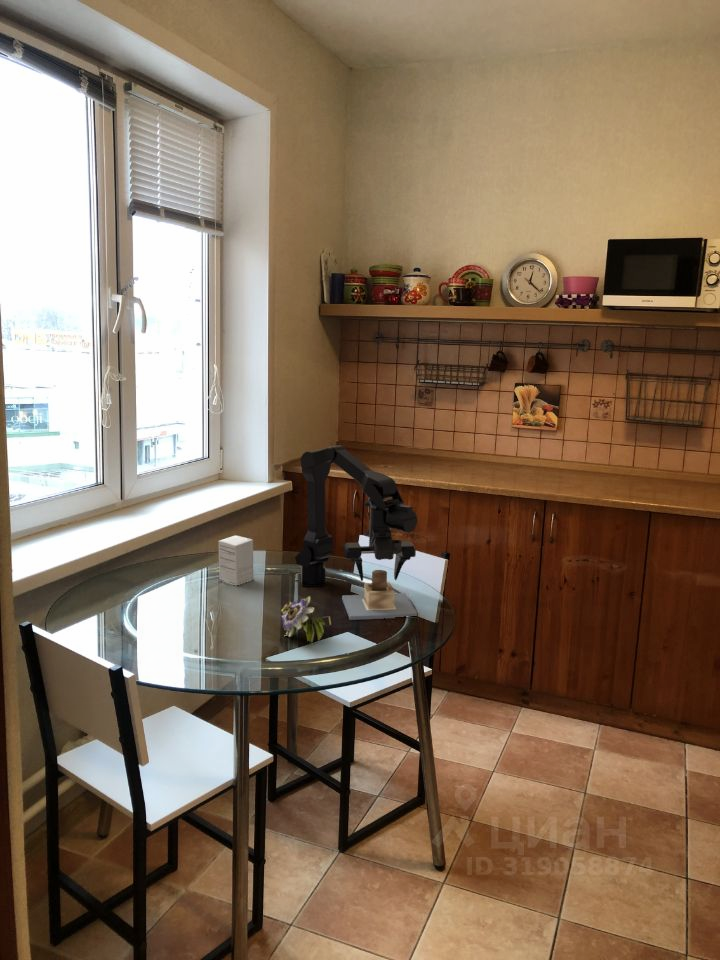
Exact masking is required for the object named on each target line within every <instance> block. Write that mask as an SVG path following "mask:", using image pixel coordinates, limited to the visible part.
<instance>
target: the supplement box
mask: <svg viewBox="0 0 720 960" xmlns="http://www.w3.org/2000/svg"><path fill="white" fill-rule="evenodd" d="M218 575H219V576H218V577H219V579H222V580H224V581H227V582H229V583H232V584H235V585H239V586H241V585H240V584H242V583H244V584H246V583H245V582H247V581H249V582H251V581H250V580H252V581H254V580H253V579H255V578H254V539H251V538H249V537H248V538H247V537H244V536H240V535H232V536H229V537H226V538H224V539H220V540H218ZM219 579H218V580H219ZM247 583H248V582H247ZM242 585H243V584H242Z"/></svg>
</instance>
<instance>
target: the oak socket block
mask: <svg viewBox="0 0 720 960" xmlns="http://www.w3.org/2000/svg"><path fill="white" fill-rule="evenodd" d="M363 586H364V589H363V590H364V591H363V595H364V601H365V603H366V605H367V607H368V609H388V608H394V597H395V594H396V593H395V592H396V591H395V589H394V587H393V585H392V584H391V582H389V581H387V591H372V582H364V585H363Z"/></svg>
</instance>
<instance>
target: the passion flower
mask: <svg viewBox="0 0 720 960" xmlns="http://www.w3.org/2000/svg"><path fill="white" fill-rule="evenodd" d="M311 602H312V597H311V595H309V596H307V597H306V598H299V599H297V600H296V601H295V600H294V601H293V602H291V600H289V601H288V602H286V604H285V605H284V606H283V607H282V609H281V614H280V615H281V623H282V628H283V629H284V631H286V632H285V634H286V635H285V634H284V637H285V636H288V637H289V638H291V637H293V636H294V635H295V633H296V631H297V630H298V631H299V630H301V629H302V628H303V631H304V632H305V635H306V636H305V637H306V640H307V642H308V641H311V642H313V643H314V639H315V631H316V636H317V641H318V642H319V641H320V639H322V637H323V635H324V633H325V631H324V626H325V625H326V623H325V621H324V620H323V619H325V618H327V619H328V626H331V625H332V619H331V615H329V616H322V617H314V618H313V613H314V612H315V607H313V606H310V607H309V605H310V604H311ZM314 630H315V631H314Z"/></svg>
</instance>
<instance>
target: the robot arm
mask: <svg viewBox="0 0 720 960" xmlns="http://www.w3.org/2000/svg"><path fill="white" fill-rule="evenodd" d="M332 463H333V464H335V465H336V466H337V467H338V468H340V469H341V470H342V471H344V472H345V473H346V474H347V475H348V476H350V477H351V478H352V479H354V480H355V481H356V482H357V483H359V485H360V486H361V489H362V492H363V493H364V494H365V495H366V497H367V498H368V500H367V501H365V502H364V503H363V506H365V507H369V512H370V513H369V535H368V537H369V538H368V546H367V545H366V546H365V545H364V546H361V545H360V543H359V542H345V544H343V554H344V555H345V558H346V559H349V560H350V562H354V564H355V566H356V568H357V572H358V575H359V579H360V581H361V582H364V571H363V558H362V554H363V555H364V554H374V559H376V560H378V561H382V560H389V561H391V560H394V558H395V560H394V572H393V576H394V577H393V578H394V580H395V581H398V577H399V575H400V572H401V569H402V568H403V566H404V564H405V563H406V562H407V561H410V560H411V558H415V557H416V555H417V553H416V552H417V551H416V550H417V548H416V546H415V545H414V544H413V542H411V541H406V540H404V541H401V539H393V537H392V529H393V530H396V531H399V532H400V531H401V532H404V533H408V534H410V533H412V532H414V530H415V529H416V527H417V525H418V516H417V514H416V512H415V511H414V510H413V509H414V508H413V506H412V505H406V504H404V503H405V502H404V499H403V498H402V497H403V496H402V495H401V493H400V491H399V489H398V487H397V486H396V485H397V483H396V481H395V480H394V478H392V477H390V476H388V475H386V474H384V473H381V472H379V471H378V472H377V471H375V470H372V469H371V468H370V467H369V466H367V465H366V464H365V463H364V462H363V461H361V460H359V459H358V458H357V457H356V456H354V455H353V454H352V453H350V452H349V451H348V450H347V448H346V447H345V446H343V445H340V444H339V445H331V446H329V447H327V448H325V449H324V448H323V449H322V448H321V449H316V450H309V451H305V452H304V453H302V455H301V456H300V465H301V467H300V468H301V473H302V475H303V476H304V478H305V480H306V482H307V517H308V518H307V525H308V526H307V528H308V530H307V532H306V534H305V536H304V538H303V539H302V540H303V541H302V548H301V551H300V552H299V553H298V554H297V555H296V556H295V557H294V558H295V562H296V565H297V566H298V565H299V566H300V569H301V570H300V578H299V579H300V580H299V581H300V583H301V587H323V586H325V582H326V567H325V565H324V563H327V562H329V559H330V556H332V553H333V550H335V549H334V544H333V543H334V537H333V535H330V534H329V533H328V532H327V529H326V479H327V478H328V476H329V475H330V472H331V466H332ZM394 555H395V557H394Z"/></svg>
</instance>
